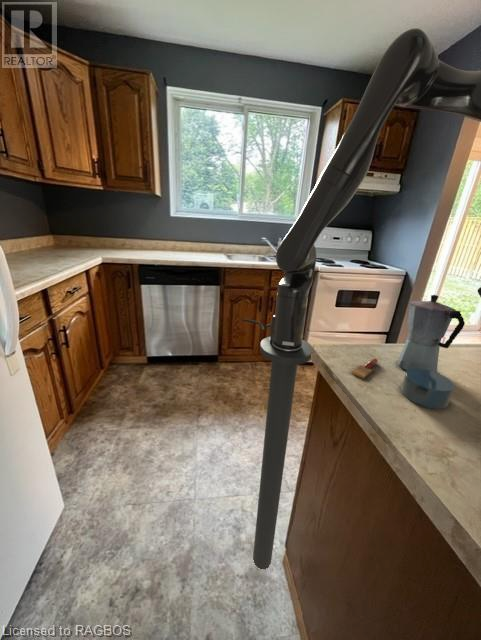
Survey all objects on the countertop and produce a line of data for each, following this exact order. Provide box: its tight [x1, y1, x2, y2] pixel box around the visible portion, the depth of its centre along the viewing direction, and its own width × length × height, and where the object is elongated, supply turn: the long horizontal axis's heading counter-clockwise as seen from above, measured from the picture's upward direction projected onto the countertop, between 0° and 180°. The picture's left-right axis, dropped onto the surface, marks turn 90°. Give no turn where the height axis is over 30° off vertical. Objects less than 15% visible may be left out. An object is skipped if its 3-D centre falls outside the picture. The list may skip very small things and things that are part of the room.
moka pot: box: [397, 294, 466, 372], centre depth 69 cm, size 10×15×20 cm, turn 15°
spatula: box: [351, 357, 378, 379], centre depth 71 cm, size 11×3×1 cm, turn 133°
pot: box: [400, 368, 455, 410], centre depth 60 cm, size 9×12×4 cm
